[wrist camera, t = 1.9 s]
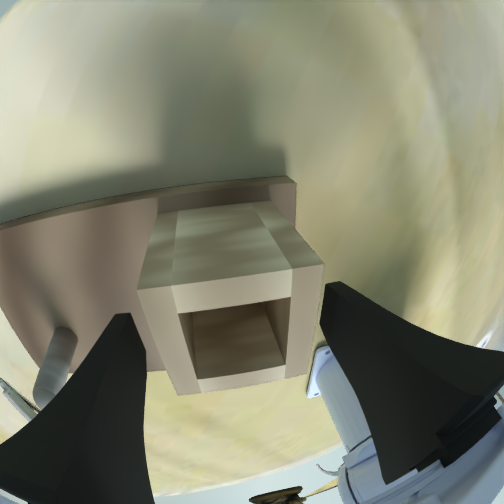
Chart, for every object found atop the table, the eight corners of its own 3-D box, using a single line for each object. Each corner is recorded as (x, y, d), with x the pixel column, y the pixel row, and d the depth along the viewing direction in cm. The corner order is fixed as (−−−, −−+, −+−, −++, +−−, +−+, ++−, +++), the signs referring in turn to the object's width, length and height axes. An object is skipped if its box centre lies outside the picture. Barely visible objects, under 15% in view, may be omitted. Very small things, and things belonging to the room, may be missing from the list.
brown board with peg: (286, 176, 14) (362, 233, 8) (281, 337, 20) (315, 420, 14) (-18, 229, 11) (-81, 292, 5) (46, 358, 17) (25, 430, 10)
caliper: (109, 454, 28) (109, 488, 22) (104, 454, 28) (104, 488, 22) (2, 376, 17) (-13, 420, 12) (-2, 377, 17) (-16, 420, 12)
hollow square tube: (270, 200, 13) (324, 263, 8) (270, 291, 16) (307, 373, 10) (157, 213, 12) (136, 290, 7) (176, 304, 15) (177, 395, 10)
